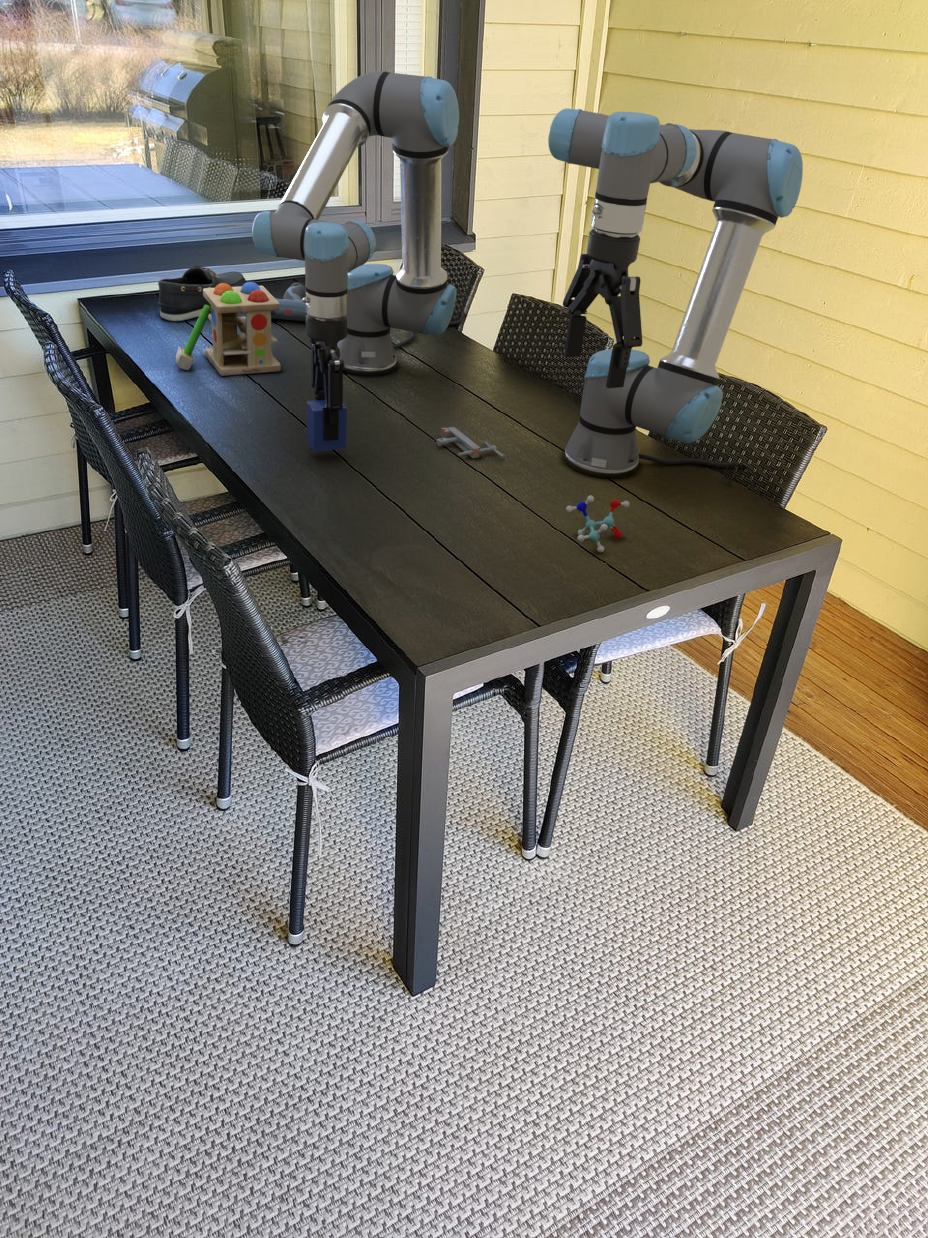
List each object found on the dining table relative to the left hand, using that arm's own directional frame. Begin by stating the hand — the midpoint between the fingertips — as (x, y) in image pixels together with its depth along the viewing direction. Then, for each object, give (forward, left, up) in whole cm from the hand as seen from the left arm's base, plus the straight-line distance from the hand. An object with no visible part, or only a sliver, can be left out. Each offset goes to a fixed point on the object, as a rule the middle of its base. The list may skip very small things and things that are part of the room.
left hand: (326, 433), depth 191 cm
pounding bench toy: (-10, -53, -5) cm, 54 cm away
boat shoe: (-29, -94, -5) cm, 99 cm away
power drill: (-49, -76, -5) cm, 91 cm away
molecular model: (-20, +53, -5) cm, 57 cm away
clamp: (-26, +13, -5) cm, 29 cm away
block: (0, 0, -2) cm, 2 cm away
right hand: (-14, +51, +26) cm, 59 cm away
